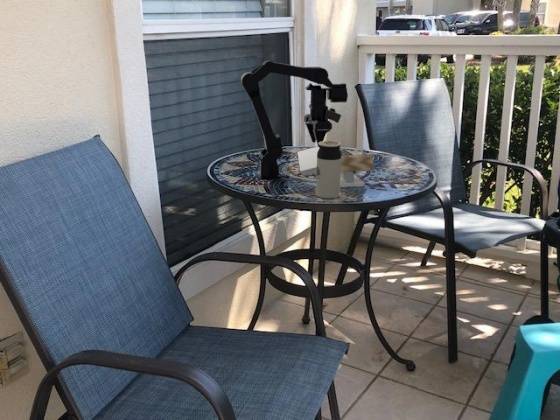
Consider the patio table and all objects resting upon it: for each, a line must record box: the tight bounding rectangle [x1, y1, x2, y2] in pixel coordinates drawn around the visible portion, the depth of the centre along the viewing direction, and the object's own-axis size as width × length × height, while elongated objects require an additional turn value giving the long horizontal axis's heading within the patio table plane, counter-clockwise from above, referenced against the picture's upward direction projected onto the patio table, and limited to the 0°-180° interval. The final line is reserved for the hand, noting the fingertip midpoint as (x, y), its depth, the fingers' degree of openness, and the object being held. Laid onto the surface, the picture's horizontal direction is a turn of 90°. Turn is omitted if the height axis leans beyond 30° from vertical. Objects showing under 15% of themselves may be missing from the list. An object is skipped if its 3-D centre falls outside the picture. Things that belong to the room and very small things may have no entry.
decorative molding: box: [297, 146, 319, 176], centre depth 233 cm, size 34×5×10 cm
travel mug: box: [315, 140, 342, 200], centre depth 188 cm, size 8×8×18 cm
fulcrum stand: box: [340, 171, 366, 188], centre depth 207 cm, size 10×12×4 cm
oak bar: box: [341, 154, 374, 172], centre depth 206 cm, size 18×4×5 cm, turn 99°
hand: (316, 144), depth 212 cm, fingers open, 9 cm apart
